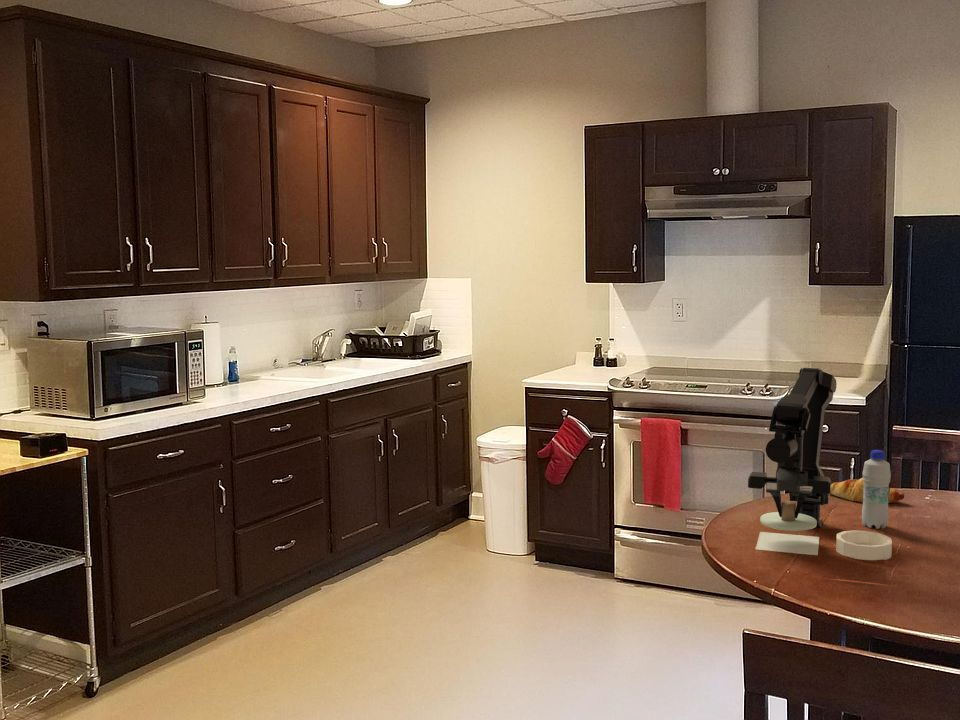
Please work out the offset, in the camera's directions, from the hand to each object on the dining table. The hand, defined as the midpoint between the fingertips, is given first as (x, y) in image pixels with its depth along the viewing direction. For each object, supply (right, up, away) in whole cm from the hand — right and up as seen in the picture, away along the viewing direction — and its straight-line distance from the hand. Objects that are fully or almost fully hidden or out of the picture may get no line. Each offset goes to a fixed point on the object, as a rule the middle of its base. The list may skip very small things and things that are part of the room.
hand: (788, 517), depth 236 cm
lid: (0, -1, 0) cm, 1 cm away
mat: (0, -7, +1) cm, 7 cm away
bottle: (+26, -5, +14) cm, 30 cm away
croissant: (+34, -1, +39) cm, 52 cm away
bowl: (+16, -7, -6) cm, 18 cm away
